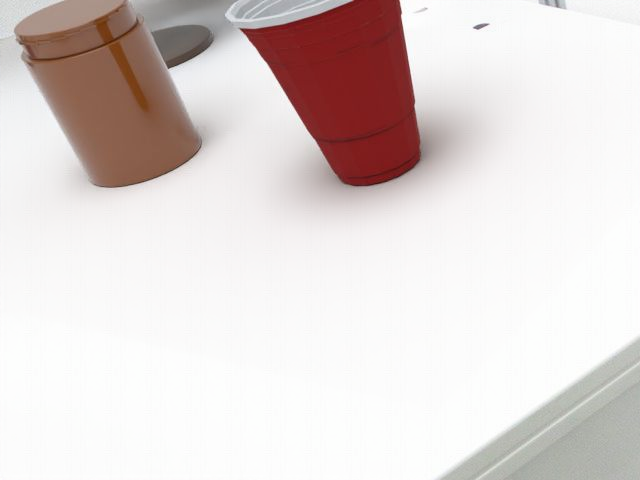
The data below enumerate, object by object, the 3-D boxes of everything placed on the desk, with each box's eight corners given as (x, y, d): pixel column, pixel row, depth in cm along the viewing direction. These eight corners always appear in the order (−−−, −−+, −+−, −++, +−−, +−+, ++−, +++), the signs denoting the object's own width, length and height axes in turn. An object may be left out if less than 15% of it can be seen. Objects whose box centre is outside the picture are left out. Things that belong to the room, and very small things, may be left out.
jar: (67, 192, 77) (-19, 45, 70) (122, 138, 83) (48, -3, 76) (171, 181, 76) (94, 29, 69) (219, 126, 82) (154, -19, 75)
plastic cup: (366, 122, 77) (302, -55, 69) (487, 132, 73) (434, -57, 65) (264, 197, 71) (181, 12, 63) (389, 214, 66) (316, 15, 58)
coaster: (82, 83, 95) (79, 76, 94) (135, 38, 102) (132, 32, 102) (184, 70, 93) (180, 63, 92) (230, 25, 100) (227, 18, 100)
